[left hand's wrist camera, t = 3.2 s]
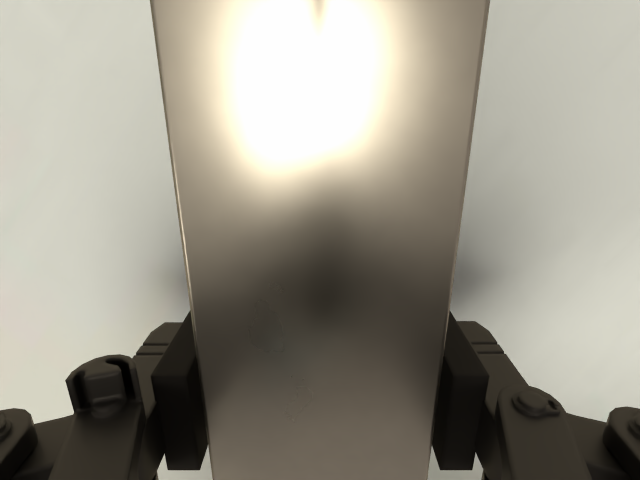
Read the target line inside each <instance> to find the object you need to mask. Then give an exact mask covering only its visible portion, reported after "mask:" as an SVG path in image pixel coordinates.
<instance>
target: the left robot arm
mask: <svg viewBox="0 0 640 480" xmlns="http://www.w3.org/2000/svg"><path fill="white" fill-rule="evenodd" d="M65 381H66V384H67V388H68V391H69V395H70V399H71V402H72V406H73V409H74V414H73V415H70V416H67V417H63V418H59V419H54V420H50V421H46V422H41V423H37V424H34V423H33V420H32V417H31V414H30V413H28V412H27V411H26V410H24V409H16V408H13V409H6V410H0V480H158V474H157V469H158V467H159V465H160V462H161V460H162V458H163V456H164V453H165V458H166V463H167V468H168V470H200V468H201V465H202V462H203V459H204V456H205V452H206V449H207V446H208V439H207V431H206V423H205V416H204V408H203V401H202V393H201V385H200V378H199V370H198V363H197V355H196V347H195V340H194V332H193V325H192V317H191V310H190V312H189V313H188V315H187V317H186V318H185V320H184V322H183V323H164V324H162V325H161V326H159V327H158V328H156V329H155V330H154V331H152V332H151V333H150V335H149V336H148V337H147V339H146V340H145V342H144V343H143V346H141V347H140V348H139V350H138V351H137V353H136V355H134V357H133V358H130V357H129V356H124V355H107V356H103V357H99V358H95V359H93V360H91V361H89V362H86V363H84V364H82V365H81V366H79V367H78V368H77V369H75V370H74V371H73V372H71V374H70V375H69V376H68V378H67V379H66V380H65ZM432 446H433V449H434V452H435V456H436V459H437V462H438V465H439V468H440V470H472V468H473V463H474V458H475V452H476V454H477V456H478V458H479V460H480V463H481V465H482V467H483V474H482V479H481V480H640V409H638V408H632V407H620V408H615V409H614V410H613V411H611V412H610V414H609V417H608V420H607V423H606V422H601V421H597V420H593V419H588V418H584V417H580V416H575V415H572V414H569V413H566V411H565V410H564V408H563V407H562V405H561V404H560V403H559V402H558V401H557V400H556V399H555V398H553V397H552V396H551V395H550V394H548V393H546V392H544V391H542V390H540V389H538V388H535V387H531V386H528V384H527V383H526V381H525V380H524V379H523V377H522V376H521V375H520V373H519V372H518V370H517V369H516V368H515V366H514V365H513V363H512V362H511V361H510V359H509V358H508V357H507V355H506V354H504V351H503V350H502V348H501V347H500V345H497V341H496V340H495V339H494V337H493V336H492V334H491V333H490V332H489V331H488V330H487V329H485V328H484V327H483V326H481V325H480V324H478V323H477V322H475V321H456V320H455V318H454V317H453V315H452V313H451V312H450V310H449V317H448V324H447V332H446V340H445V347H444V355H443V362H442V370H441V378H440V385H439V393H438V401H437V408H436V416H435V423H434V431H433V439H432Z"/></svg>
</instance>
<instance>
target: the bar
mask: <svg viewBox="0 0 640 480" xmlns="http://www.w3.org/2000/svg"><path fill="white" fill-rule="evenodd" d="M150 5H151V13H152V20H153V28H154V36H155V43H156V51H157V58H158V66H159V74H160V81H161V89H162V96H163V104H164V112H165V119H166V127H167V134H168V142H169V150H170V157H171V165H172V172H173V180H174V188H175V195H176V203H177V210H178V218H179V226H180V233H181V241H182V249H183V256H184V264H185V271H186V279H187V287H188V294H189V302H190V309H191V317H192V325H193V332H194V340H195V347H196V355H197V363H198V370H199V378H200V385H201V393H202V401H203V408H204V416H205V423H206V431H207V439H208V446H209V454H210V462H211V469H212V477H213V480H427V477H428V469H429V461H430V454H431V446H432V439H433V431H434V423H435V416H436V408H437V401H438V393H439V385H440V378H441V370H442V362H443V355H444V347H445V340H446V332H447V324H448V317H449V309H450V302H451V294H452V286H453V279H454V271H455V264H456V256H457V248H458V241H459V233H460V226H461V218H462V210H463V203H464V195H465V187H466V180H467V172H468V165H469V157H470V149H471V142H472V134H473V127H474V119H475V111H476V104H477V96H478V89H479V81H480V73H481V66H482V58H483V51H484V43H485V35H486V28H487V20H488V12H489V5H490V0H150Z"/></svg>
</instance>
